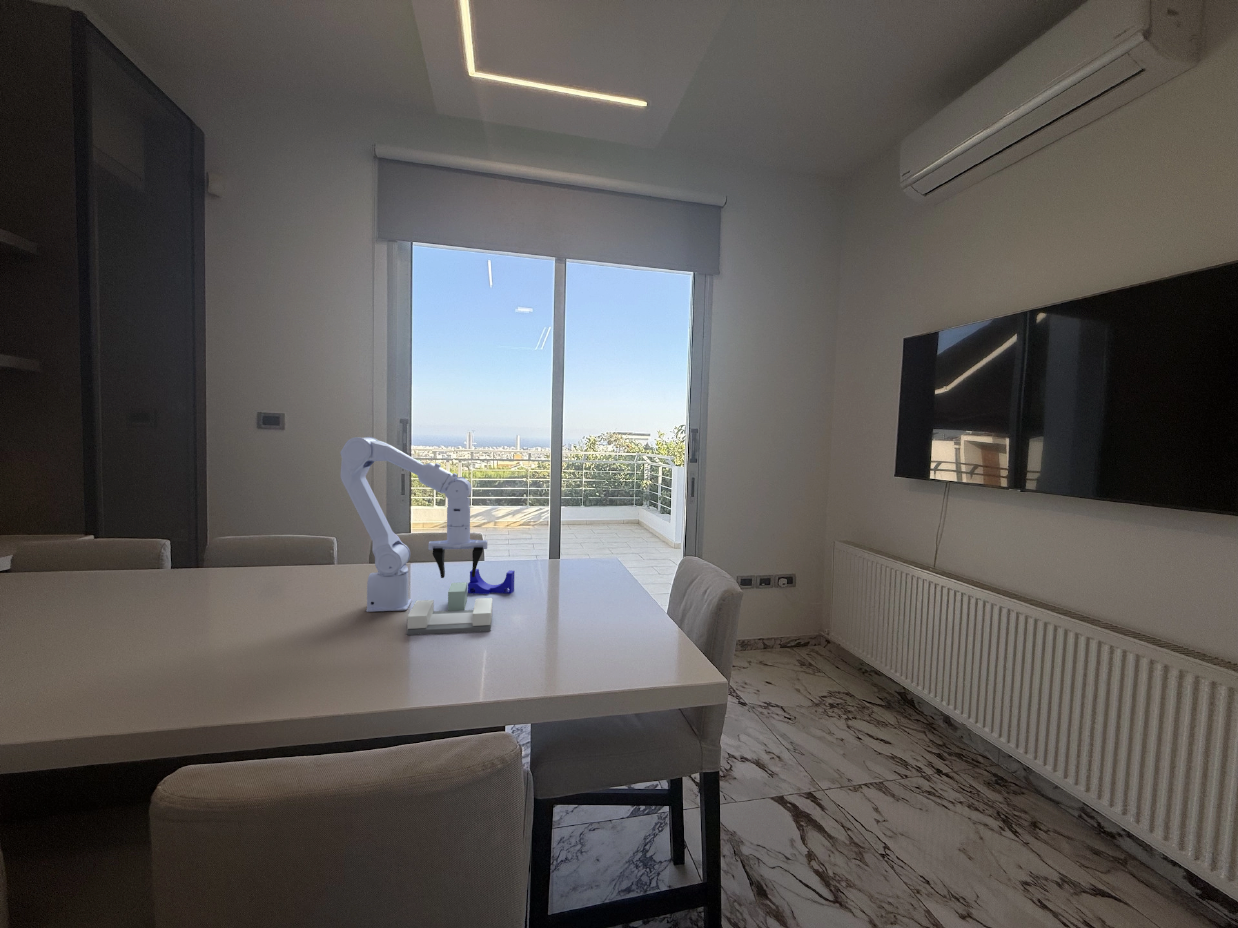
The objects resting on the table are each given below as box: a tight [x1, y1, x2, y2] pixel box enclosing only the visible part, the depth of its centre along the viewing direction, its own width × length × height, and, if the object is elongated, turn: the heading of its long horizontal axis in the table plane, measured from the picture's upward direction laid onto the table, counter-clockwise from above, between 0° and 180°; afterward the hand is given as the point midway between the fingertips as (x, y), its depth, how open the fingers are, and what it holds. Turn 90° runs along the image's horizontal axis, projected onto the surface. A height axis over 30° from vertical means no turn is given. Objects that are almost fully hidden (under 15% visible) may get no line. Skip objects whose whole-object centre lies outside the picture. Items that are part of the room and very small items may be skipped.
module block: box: [447, 581, 468, 611], centre depth 136 cm, size 4×8×5 cm, turn 12°
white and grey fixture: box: [406, 597, 493, 636], centre depth 123 cm, size 18×12×4 cm, turn 102°
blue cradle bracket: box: [467, 568, 515, 595], centre depth 148 cm, size 12×4×6 cm, turn 86°
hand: (458, 576), depth 136 cm, fingers open, 7 cm apart
